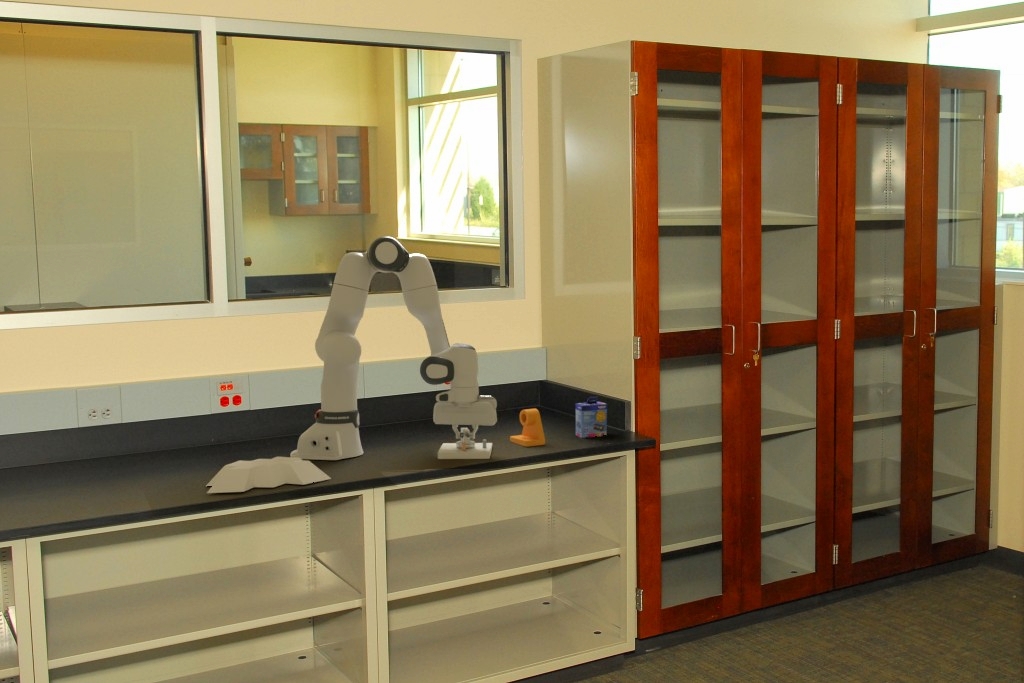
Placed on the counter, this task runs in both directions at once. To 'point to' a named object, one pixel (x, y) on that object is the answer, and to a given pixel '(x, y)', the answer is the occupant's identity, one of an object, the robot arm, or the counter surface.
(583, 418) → the ink cartridge box
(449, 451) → the dial plate
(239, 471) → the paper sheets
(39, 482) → the counter surface
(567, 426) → the counter surface
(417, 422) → the counter surface
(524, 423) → the bracket
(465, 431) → the knob
